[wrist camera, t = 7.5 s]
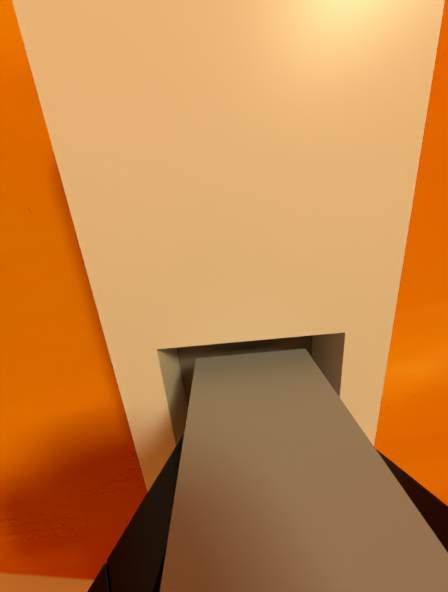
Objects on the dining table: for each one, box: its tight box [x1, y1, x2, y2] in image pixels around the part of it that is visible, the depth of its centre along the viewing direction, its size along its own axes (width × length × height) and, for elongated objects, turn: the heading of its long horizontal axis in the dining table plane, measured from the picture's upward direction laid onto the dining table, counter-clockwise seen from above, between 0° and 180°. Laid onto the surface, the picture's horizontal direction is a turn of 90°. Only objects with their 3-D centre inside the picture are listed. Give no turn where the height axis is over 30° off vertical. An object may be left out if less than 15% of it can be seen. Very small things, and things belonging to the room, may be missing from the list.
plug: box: [160, 349, 448, 592], centre depth 6 cm, size 4×4×7 cm
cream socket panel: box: [12, 0, 445, 492], centre depth 10 cm, size 9×24×4 cm, turn 5°
